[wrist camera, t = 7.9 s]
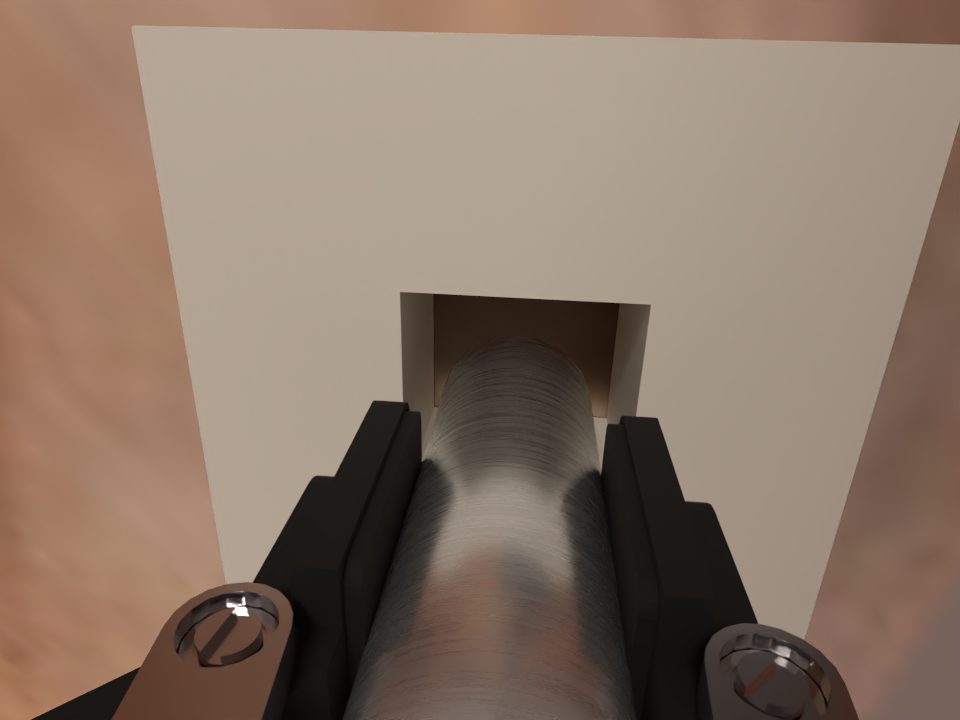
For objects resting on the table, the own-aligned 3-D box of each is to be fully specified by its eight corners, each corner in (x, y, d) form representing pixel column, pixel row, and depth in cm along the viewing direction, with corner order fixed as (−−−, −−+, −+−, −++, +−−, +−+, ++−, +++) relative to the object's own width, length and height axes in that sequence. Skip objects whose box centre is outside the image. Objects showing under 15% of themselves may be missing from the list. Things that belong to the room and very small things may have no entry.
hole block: (236, 34, 14) (131, 25, 11) (863, 49, 13) (982, 45, 10) (291, 525, 20) (233, 631, 16) (744, 560, 19) (792, 680, 15)
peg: (443, 332, 13) (-58, 1664, 2) (597, 340, 13) (901, 1860, 2) (443, 462, 14) (119, 1745, 3) (584, 472, 14) (726, 1868, 3)
